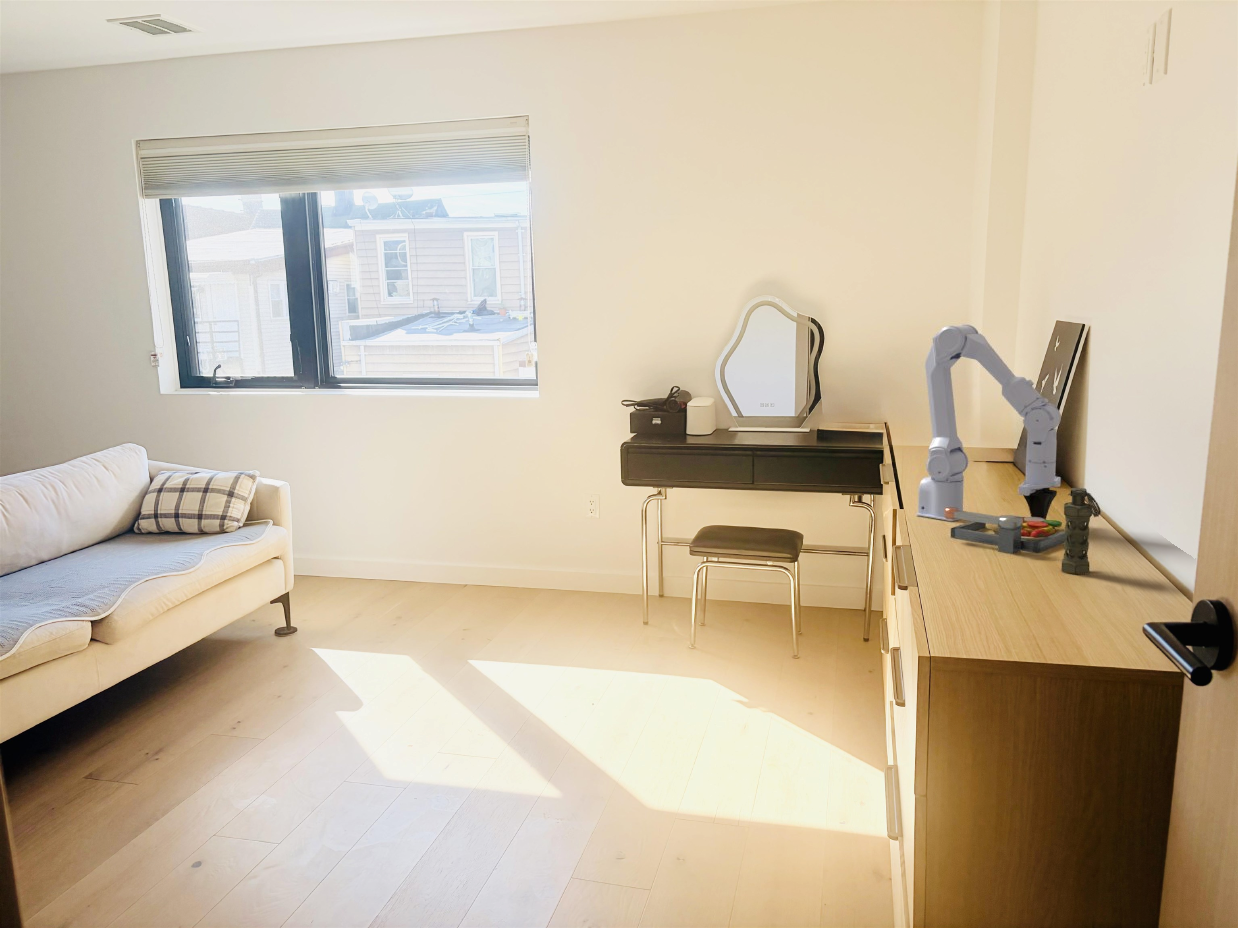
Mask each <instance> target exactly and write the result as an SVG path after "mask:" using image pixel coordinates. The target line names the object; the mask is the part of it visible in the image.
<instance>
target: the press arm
mask: <svg viewBox="0 0 1238 928" xmlns="http://www.w3.org/2000/svg"><path fill="white" fill-rule="evenodd" d="M1022 517H1023V516H1019V515H1010V514H1008V515H1007V514H1006V515H1004V514H1002V515H999V516H998V515H992V514H986V513H979V512H974V511H973V512H972V511H965V510H963V511H961V510H958V508H955V507H947V508H945V518H946V519H958V520H964V521H968V522H972V521H975V522H982V523H988V524H994V525H998V527H1000V528H1004V529H1021V528H1022V527H1023V518H1022Z"/></svg>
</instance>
